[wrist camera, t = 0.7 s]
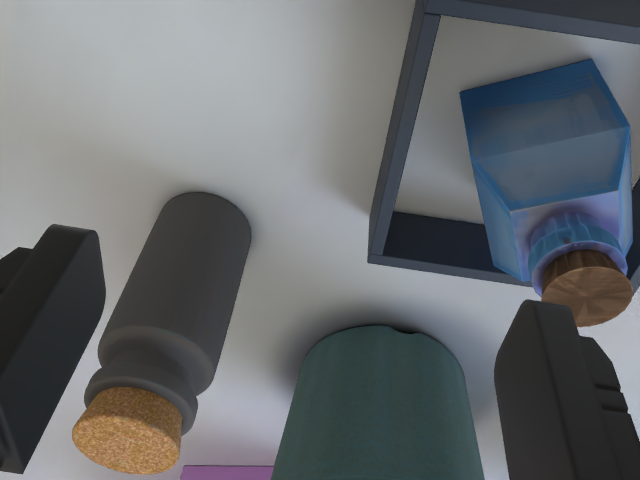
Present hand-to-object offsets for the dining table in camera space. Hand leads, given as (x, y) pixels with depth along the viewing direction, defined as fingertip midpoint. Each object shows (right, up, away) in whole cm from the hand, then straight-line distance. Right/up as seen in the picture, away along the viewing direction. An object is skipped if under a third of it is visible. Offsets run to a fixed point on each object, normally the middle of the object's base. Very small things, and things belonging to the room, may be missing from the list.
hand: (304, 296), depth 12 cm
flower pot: (+5, -9, +34) cm, 36 cm away
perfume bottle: (+11, +7, +20) cm, 24 cm away
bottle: (-7, +2, +26) cm, 27 cm away
